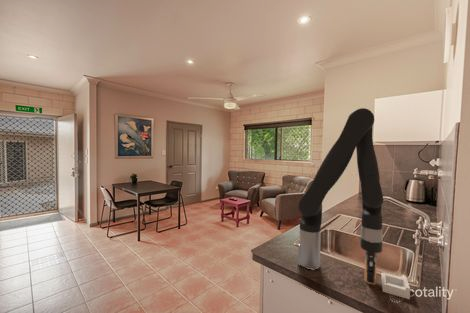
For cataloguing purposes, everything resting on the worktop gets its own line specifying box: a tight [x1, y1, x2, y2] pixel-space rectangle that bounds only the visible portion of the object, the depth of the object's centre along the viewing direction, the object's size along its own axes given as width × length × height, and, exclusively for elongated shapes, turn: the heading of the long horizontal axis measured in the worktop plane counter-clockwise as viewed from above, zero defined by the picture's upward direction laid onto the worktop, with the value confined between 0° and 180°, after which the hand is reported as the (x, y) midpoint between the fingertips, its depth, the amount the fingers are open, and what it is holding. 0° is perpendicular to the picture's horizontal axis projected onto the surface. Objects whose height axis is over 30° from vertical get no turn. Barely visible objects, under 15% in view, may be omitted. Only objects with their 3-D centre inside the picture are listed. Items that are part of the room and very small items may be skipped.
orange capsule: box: [364, 259, 377, 286], centre depth 86 cm, size 4×4×8 cm
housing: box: [380, 272, 411, 300], centre depth 82 cm, size 8×9×4 cm
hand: (370, 278), depth 86 cm, fingers closed on orange capsule, 4 cm apart
